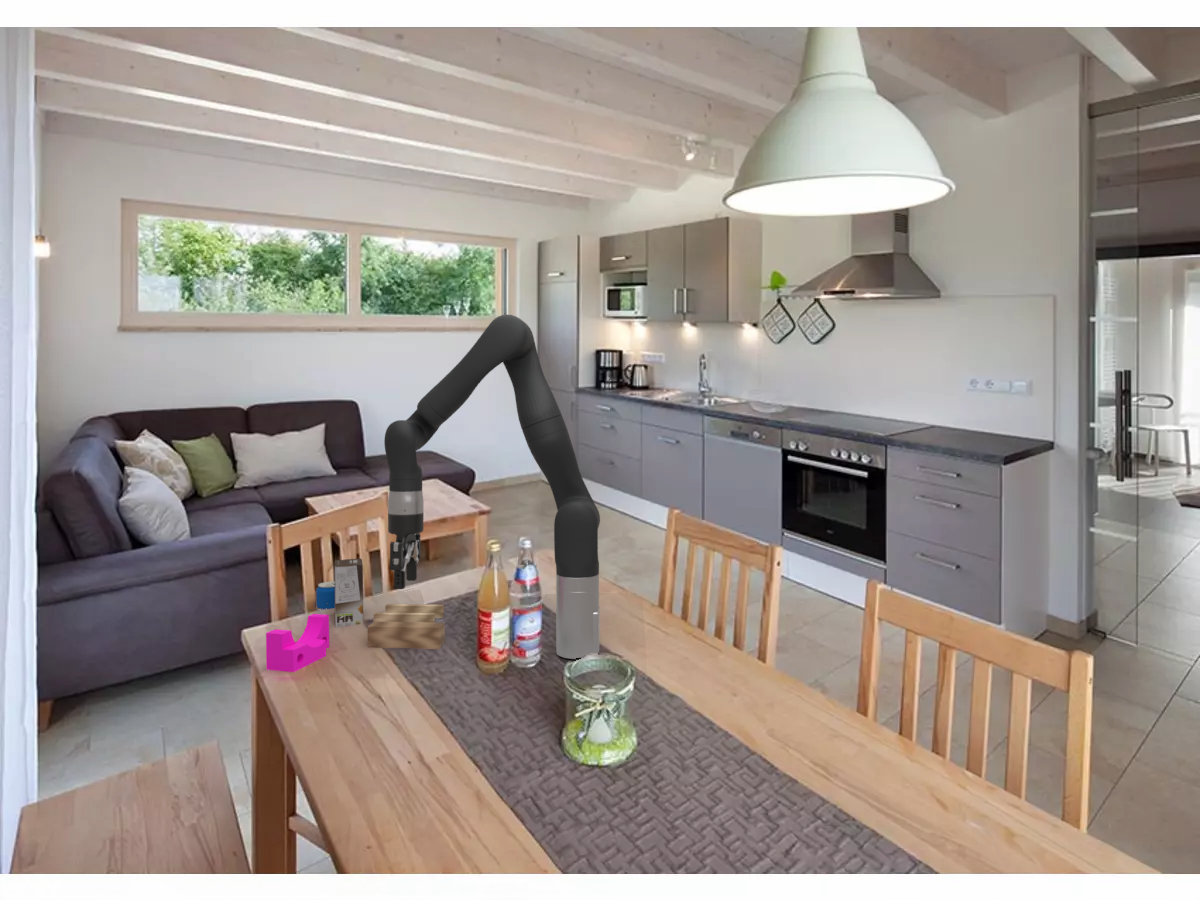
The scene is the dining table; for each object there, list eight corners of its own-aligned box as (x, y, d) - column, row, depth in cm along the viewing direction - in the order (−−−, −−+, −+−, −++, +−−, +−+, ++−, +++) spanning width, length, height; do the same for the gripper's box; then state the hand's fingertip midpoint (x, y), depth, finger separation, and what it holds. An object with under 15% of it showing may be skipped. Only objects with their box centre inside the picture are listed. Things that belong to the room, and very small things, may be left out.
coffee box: (363, 632, 166) (363, 564, 165) (334, 635, 163) (334, 566, 163) (362, 622, 174) (362, 557, 174) (335, 624, 172) (334, 559, 172)
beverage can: (347, 627, 181) (347, 580, 180) (339, 634, 174) (338, 587, 174) (322, 627, 180) (321, 581, 180) (312, 635, 174) (312, 587, 173)
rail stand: (449, 623, 174) (449, 602, 173) (435, 638, 161) (435, 616, 160) (385, 622, 174) (385, 602, 174) (366, 637, 161) (366, 616, 161)
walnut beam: (444, 644, 157) (444, 622, 157) (439, 650, 153) (439, 627, 153) (374, 643, 158) (374, 621, 158) (367, 649, 154) (367, 626, 154)
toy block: (293, 672, 138) (293, 635, 138) (266, 670, 140) (266, 632, 140) (339, 649, 153) (339, 615, 153) (314, 647, 154) (313, 613, 154)
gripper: (413, 515, 147) (413, 592, 148) (431, 507, 161) (431, 577, 162) (377, 514, 147) (377, 591, 148) (399, 507, 162) (399, 577, 162)
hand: (405, 584), depth 155 cm, fingers open, 8 cm apart
